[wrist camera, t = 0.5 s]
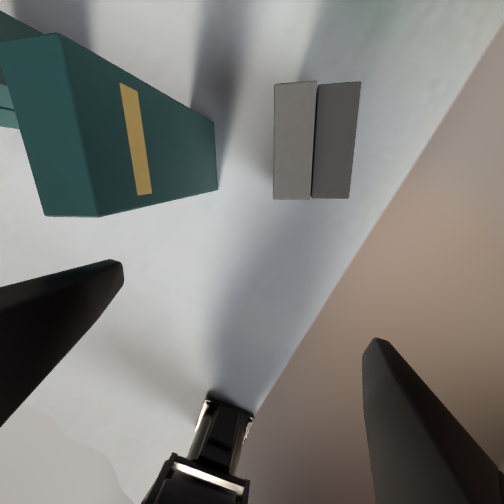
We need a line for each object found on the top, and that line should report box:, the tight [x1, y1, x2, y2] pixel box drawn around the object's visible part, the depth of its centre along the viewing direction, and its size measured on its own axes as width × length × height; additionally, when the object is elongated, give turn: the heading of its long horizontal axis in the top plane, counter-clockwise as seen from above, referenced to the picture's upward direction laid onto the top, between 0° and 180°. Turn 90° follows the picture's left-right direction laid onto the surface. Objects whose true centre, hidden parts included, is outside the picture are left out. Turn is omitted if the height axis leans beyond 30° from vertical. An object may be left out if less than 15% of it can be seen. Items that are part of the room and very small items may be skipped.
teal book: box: [0, 33, 218, 218], centre depth 15 cm, size 6×2×14 cm, turn 1°
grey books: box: [273, 81, 361, 200], centre depth 16 cm, size 6×4×8 cm
